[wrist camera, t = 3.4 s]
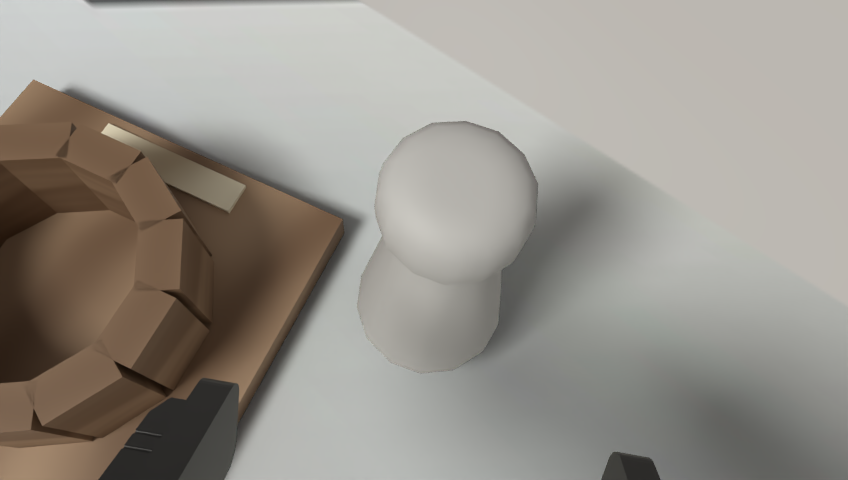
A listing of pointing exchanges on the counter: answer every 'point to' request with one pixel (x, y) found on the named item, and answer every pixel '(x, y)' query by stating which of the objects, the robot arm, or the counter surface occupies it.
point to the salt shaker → (444, 243)
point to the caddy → (131, 280)
